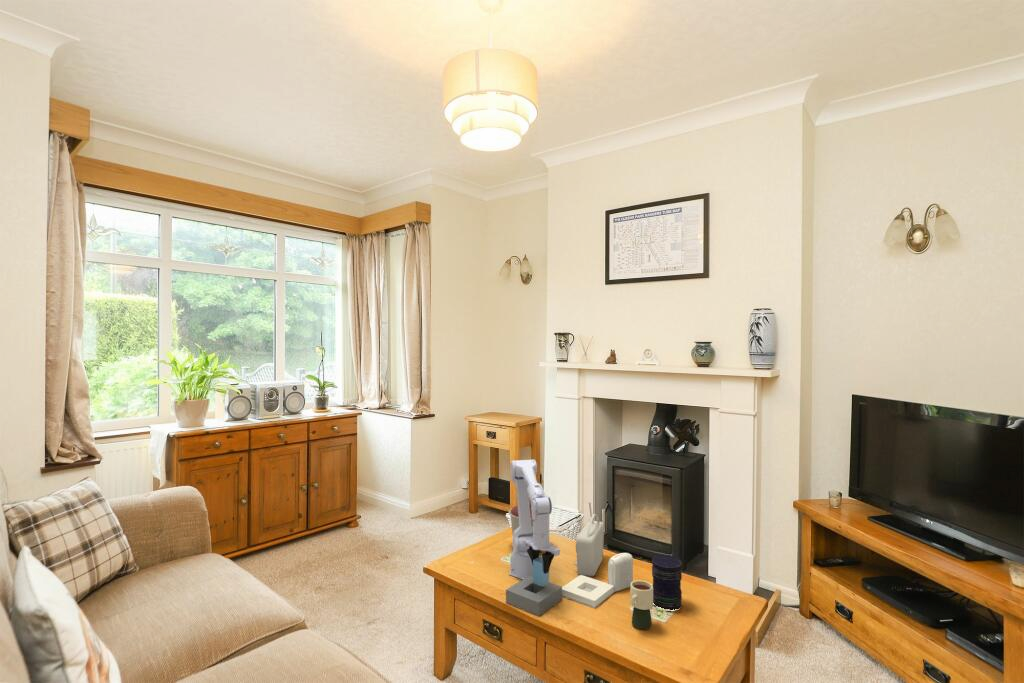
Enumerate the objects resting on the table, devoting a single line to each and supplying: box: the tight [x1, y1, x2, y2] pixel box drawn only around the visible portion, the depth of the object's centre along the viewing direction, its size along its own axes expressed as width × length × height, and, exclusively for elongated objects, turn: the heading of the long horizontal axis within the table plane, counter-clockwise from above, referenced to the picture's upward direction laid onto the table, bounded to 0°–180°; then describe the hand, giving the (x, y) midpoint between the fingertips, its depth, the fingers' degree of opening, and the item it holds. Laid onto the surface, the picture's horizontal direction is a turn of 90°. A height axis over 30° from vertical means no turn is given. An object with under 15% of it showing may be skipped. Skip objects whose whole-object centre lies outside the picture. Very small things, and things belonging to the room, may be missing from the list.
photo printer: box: [607, 552, 634, 593], centre depth 191 cm, size 10×4×12 cm, turn 123°
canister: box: [508, 500, 550, 552], centre depth 226 cm, size 18×18×21 cm
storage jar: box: [651, 554, 683, 610], centre depth 179 cm, size 10×10×15 cm
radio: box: [574, 501, 605, 577], centre depth 209 cm, size 22×8×25 cm, turn 159°
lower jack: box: [561, 574, 615, 609], centre depth 186 cm, size 14×14×2 cm
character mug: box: [629, 579, 654, 630], centre depth 166 cm, size 11×7×13 cm, turn 135°
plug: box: [533, 556, 550, 586], centre depth 182 cm, size 4×5×8 cm
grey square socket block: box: [505, 576, 563, 617], centre depth 181 cm, size 14×14×4 cm
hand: (541, 570), depth 182 cm, fingers closed on plug, 4 cm apart
